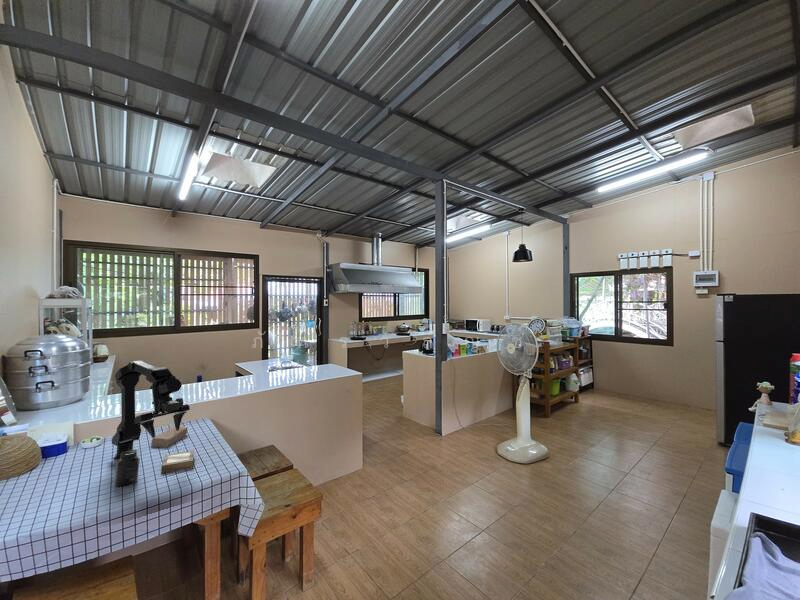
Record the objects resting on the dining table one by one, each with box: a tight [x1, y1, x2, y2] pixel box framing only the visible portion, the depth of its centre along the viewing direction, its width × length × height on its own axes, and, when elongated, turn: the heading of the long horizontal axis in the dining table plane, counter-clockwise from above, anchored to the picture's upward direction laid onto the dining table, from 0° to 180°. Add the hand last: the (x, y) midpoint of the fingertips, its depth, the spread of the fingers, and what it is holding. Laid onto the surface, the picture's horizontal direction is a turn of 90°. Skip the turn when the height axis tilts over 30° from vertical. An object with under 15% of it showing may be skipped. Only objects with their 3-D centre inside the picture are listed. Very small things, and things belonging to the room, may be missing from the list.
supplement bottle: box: [114, 449, 140, 488], centre depth 123 cm, size 7×7×12 cm
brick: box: [150, 426, 188, 448], centre depth 164 cm, size 17×8×5 cm, turn 4°
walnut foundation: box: [160, 450, 195, 474], centre depth 139 cm, size 11×11×3 cm
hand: (166, 434), depth 133 cm, fingers open, 9 cm apart
